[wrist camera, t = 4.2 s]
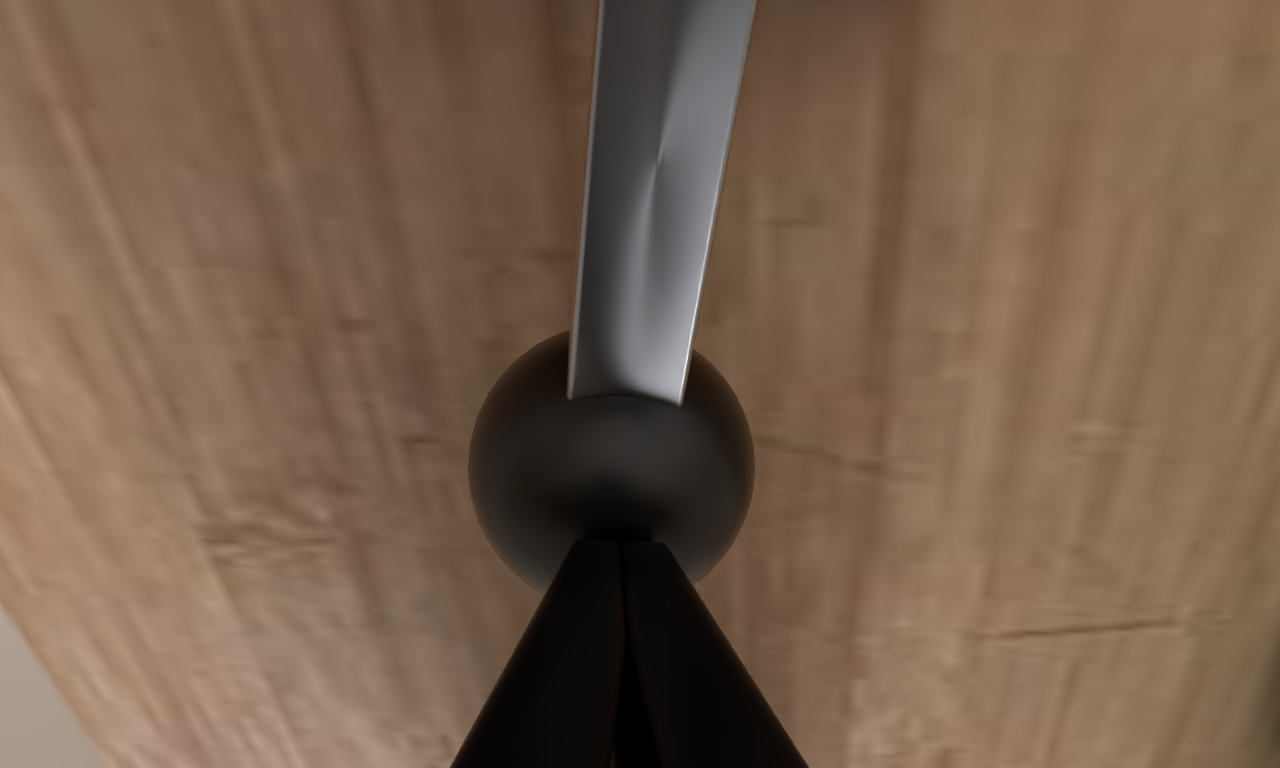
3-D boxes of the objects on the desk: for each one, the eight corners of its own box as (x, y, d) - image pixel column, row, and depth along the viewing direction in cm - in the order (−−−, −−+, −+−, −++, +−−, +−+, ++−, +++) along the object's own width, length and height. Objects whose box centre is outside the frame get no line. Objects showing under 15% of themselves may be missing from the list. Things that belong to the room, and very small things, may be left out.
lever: (716, 471, 12) (741, 675, 10) (482, 457, 12) (452, 663, 10) (1099, -1194, 5) (1540, -1871, 3) (496, -1330, 5) (381, -2222, 2)
